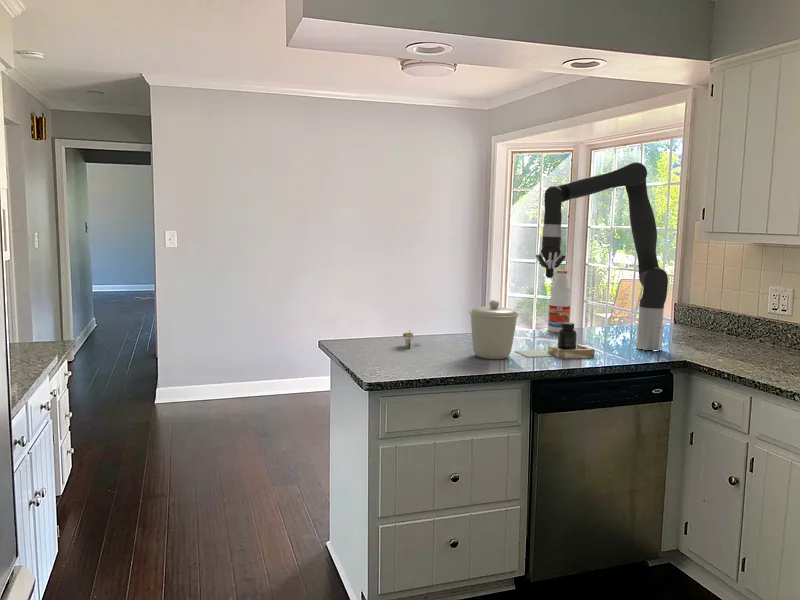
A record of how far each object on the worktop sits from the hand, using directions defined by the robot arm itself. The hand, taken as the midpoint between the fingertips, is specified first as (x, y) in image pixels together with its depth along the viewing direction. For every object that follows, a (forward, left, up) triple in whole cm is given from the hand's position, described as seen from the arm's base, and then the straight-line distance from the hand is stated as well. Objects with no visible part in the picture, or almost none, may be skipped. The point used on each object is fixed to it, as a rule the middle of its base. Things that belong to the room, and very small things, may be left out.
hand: (549, 277), depth 274 cm
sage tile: (-6, +27, -27) cm, 39 cm away
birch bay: (-18, +19, -27) cm, 37 cm away
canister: (+4, +42, -27) cm, 50 cm away
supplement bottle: (-16, +18, -27) cm, 36 cm away
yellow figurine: (+38, +48, -28) cm, 67 cm away
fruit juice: (+6, -30, -27) cm, 41 cm away
